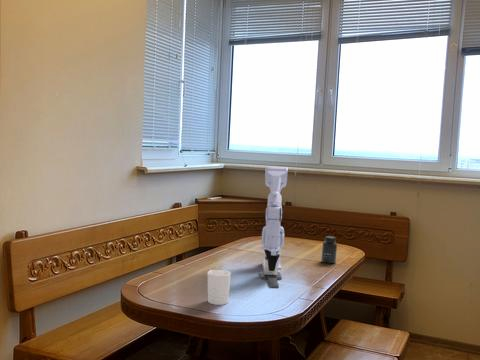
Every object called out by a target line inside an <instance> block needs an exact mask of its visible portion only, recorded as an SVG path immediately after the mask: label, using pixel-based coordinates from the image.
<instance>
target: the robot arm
mask: <svg viewBox="0 0 480 360" xmlns="http://www.w3.org/2000/svg"><path fill="white" fill-rule="evenodd" d="M288 171H289V170H288V167H287V166H285V167H282V166H266V167H265V173H264V180H265V181H264V183H265V186H266V187H268V188H269V190H270V193H268V196H267V204H266V206H267V207H266V208H265V226H263V228H262V231H261V248H262V249H263V258H264V257H267V259H268V267H269V271H274V270H275V267H276V263H277V260H278V270H279V269H282V265H281V248H282V247H283V246H284V244H285V229H284V227H283V226H281V222H282V219H283V207H282V199H283V198H282V194H281V191H282V189H283V188H286V185H287V184H288V183H287V182H288ZM261 265H262V268H263V269H264V261H261Z"/></svg>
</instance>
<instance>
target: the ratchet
mask: <svg viewBox="0 0 480 360" xmlns="http://www.w3.org/2000/svg"><path fill="white" fill-rule="evenodd" d="M259 275H260V279H261V280H267V282H268V284H269V287H270V288H279V287H280V286H279V285H280V284H279V282H278V281H282V280H283V279H282V275H281V273H280V271H278V273H277V275H265V274H264V270H262V271H261V270H260V273H259Z"/></svg>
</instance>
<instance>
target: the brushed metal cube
mask: <svg viewBox="0 0 480 360" xmlns="http://www.w3.org/2000/svg"><path fill="white" fill-rule="evenodd" d="M263 262H264V268H263V271H264V274H265V275H277V273H278V272H279V271H278V270H279V269H278V260H277V263H276V267H275V270H274V271H269V267H268V259H267V257H264V256H263Z"/></svg>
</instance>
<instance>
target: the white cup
mask: <svg viewBox="0 0 480 360" xmlns="http://www.w3.org/2000/svg"><path fill="white" fill-rule="evenodd" d="M231 278H232V273H231V271H229V270H224V269H211V270H209V271H207V302H208V303H209V304H210V305H215V306H223V305H226V304H228V303H229V296H230V289H231Z"/></svg>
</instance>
